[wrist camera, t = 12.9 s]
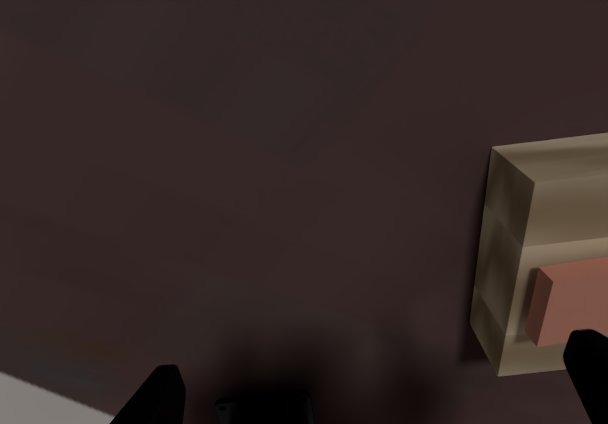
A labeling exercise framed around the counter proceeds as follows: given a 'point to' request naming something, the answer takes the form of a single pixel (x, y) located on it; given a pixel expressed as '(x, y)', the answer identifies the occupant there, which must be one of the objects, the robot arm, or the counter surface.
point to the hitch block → (535, 239)
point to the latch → (568, 301)
